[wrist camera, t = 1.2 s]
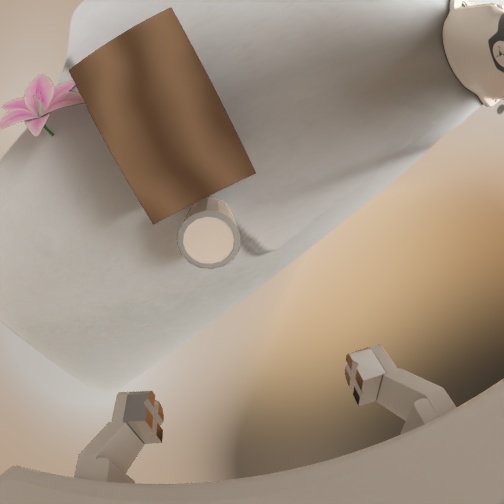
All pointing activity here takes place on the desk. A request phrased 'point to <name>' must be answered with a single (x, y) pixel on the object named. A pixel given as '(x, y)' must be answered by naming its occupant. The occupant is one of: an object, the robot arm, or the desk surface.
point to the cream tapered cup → (209, 234)
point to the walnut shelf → (161, 116)
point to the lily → (39, 104)
